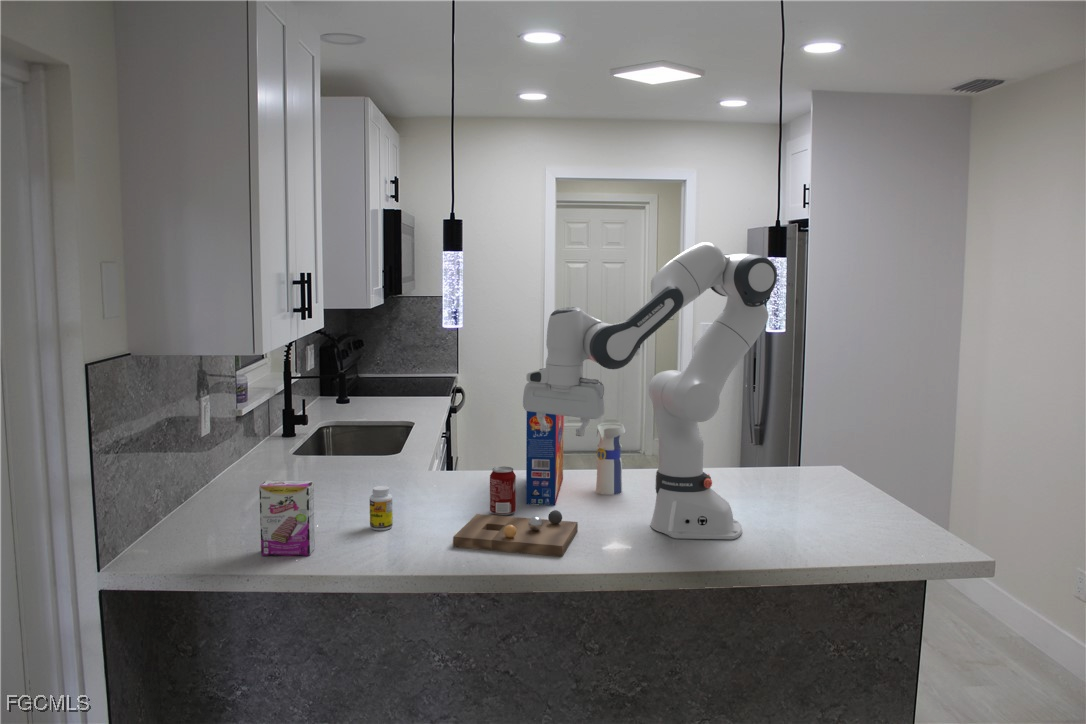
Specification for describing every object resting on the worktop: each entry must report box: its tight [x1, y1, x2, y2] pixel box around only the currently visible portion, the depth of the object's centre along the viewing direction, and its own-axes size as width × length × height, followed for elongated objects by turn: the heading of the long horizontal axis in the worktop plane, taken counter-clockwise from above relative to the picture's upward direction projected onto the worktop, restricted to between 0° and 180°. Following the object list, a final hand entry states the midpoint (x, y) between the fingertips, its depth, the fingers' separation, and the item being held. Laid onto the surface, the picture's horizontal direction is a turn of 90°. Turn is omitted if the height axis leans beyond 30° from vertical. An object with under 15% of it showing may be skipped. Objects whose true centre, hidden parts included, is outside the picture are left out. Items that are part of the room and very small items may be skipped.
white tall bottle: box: [595, 422, 626, 496], centre depth 245 cm, size 8×9×25 cm
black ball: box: [547, 509, 563, 524], centre depth 209 cm, size 3×3×3 cm
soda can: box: [489, 465, 517, 517], centre depth 225 cm, size 7×7×12 cm
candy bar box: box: [259, 480, 316, 557], centre depth 194 cm, size 11×5×16 cm, turn 92°
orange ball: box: [504, 525, 517, 538], centre depth 198 cm, size 3×3×3 cm
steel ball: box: [528, 515, 543, 531], centre depth 204 cm, size 3×3×3 cm
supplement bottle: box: [369, 485, 394, 532], centre depth 212 cm, size 6×6×10 cm
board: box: [452, 513, 579, 557], centre depth 205 cm, size 26×18×2 cm
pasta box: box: [525, 411, 565, 506], centre depth 246 cm, size 28×8×28 cm, turn 174°
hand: (562, 433), depth 204 cm, fingers open, 8 cm apart
